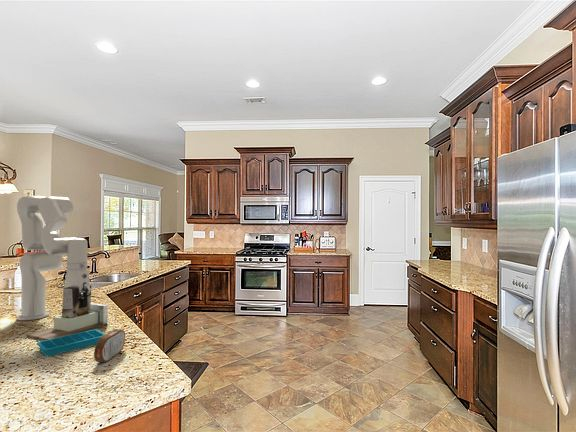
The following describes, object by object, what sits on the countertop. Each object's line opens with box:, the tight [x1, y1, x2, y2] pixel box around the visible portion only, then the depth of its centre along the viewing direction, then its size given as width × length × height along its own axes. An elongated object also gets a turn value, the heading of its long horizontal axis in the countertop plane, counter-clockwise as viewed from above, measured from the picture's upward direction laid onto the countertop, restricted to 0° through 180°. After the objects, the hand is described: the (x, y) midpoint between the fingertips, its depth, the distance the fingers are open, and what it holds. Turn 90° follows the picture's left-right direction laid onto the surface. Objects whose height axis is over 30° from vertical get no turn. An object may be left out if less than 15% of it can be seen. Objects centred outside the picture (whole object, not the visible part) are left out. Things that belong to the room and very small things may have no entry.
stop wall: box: [90, 302, 109, 324], centre depth 152 cm, size 16×2×8 cm, turn 66°
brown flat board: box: [26, 322, 108, 341], centre depth 142 cm, size 16×24×1 cm, turn 156°
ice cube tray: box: [36, 328, 106, 357], centre depth 124 cm, size 12×20×3 cm, turn 138°
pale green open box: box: [53, 311, 98, 332], centre depth 145 cm, size 10×13×5 cm
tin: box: [93, 328, 126, 363], centre depth 113 cm, size 15×3×8 cm, turn 178°
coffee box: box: [61, 284, 92, 319], centre depth 145 cm, size 9×6×16 cm
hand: (76, 306), depth 145 cm, fingers open, 8 cm apart
